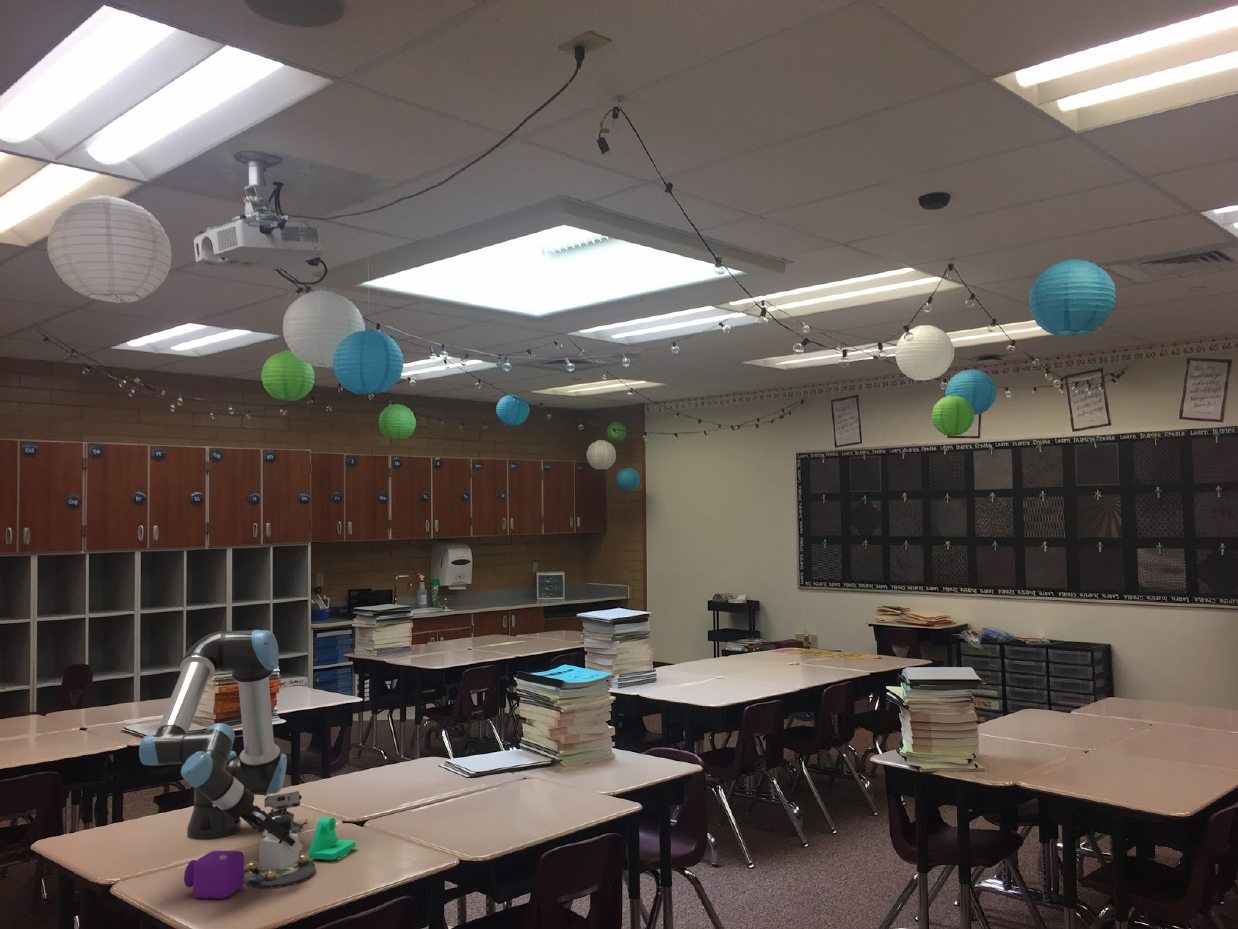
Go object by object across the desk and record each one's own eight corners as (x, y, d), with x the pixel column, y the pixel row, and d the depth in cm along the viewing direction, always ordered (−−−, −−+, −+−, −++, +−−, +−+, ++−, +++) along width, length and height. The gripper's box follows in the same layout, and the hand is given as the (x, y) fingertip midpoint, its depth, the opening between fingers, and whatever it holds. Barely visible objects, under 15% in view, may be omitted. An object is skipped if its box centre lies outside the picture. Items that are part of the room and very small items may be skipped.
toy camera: (192, 887, 244) (192, 847, 245) (246, 884, 245) (247, 845, 246) (176, 903, 233) (176, 861, 234) (233, 900, 235) (234, 858, 235)
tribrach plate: (230, 877, 251) (230, 863, 251) (293, 859, 264) (293, 846, 264) (262, 893, 239) (263, 879, 239) (327, 874, 252) (327, 860, 252)
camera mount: (332, 864, 260) (332, 825, 261) (308, 862, 262) (308, 823, 263) (356, 850, 272) (356, 813, 272) (333, 848, 274) (333, 811, 275)
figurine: (300, 850, 271) (300, 797, 273) (258, 852, 271) (259, 798, 272) (308, 840, 281) (308, 788, 282) (268, 842, 280) (269, 790, 281)
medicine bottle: (298, 861, 254) (299, 815, 255) (281, 870, 247) (281, 823, 248) (276, 859, 256) (277, 813, 257) (258, 867, 249) (259, 820, 250)
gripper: (203, 803, 249) (261, 850, 259) (242, 819, 234) (301, 868, 245) (224, 778, 253) (279, 826, 264) (263, 792, 238) (320, 842, 249)
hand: (290, 846), depth 254 cm, fingers closed on medicine bottle, 9 cm apart
